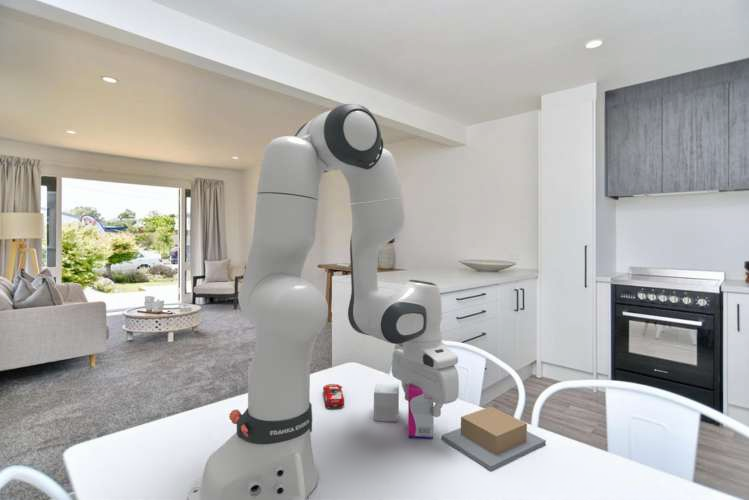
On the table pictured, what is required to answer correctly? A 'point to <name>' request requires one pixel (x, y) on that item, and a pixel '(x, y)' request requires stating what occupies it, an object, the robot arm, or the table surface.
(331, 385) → the race car
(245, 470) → the robot arm
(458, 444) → the build base
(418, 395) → the supplement box
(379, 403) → the product box
